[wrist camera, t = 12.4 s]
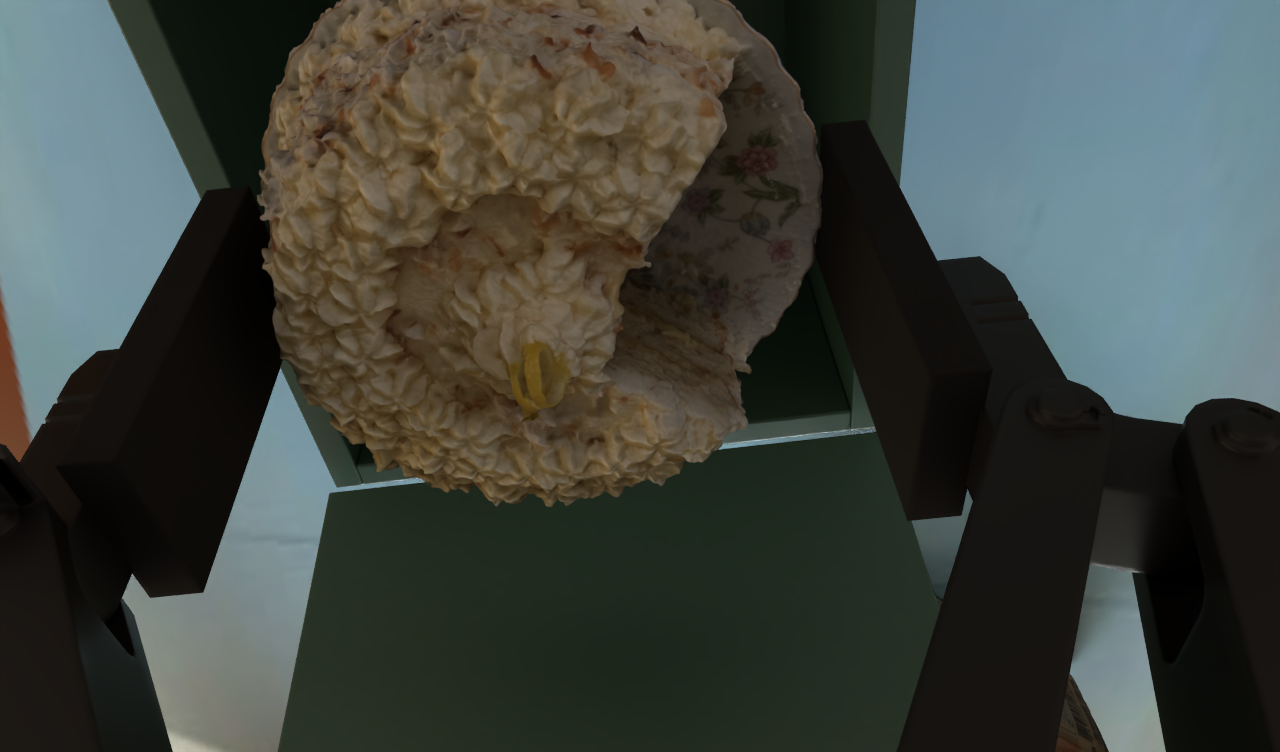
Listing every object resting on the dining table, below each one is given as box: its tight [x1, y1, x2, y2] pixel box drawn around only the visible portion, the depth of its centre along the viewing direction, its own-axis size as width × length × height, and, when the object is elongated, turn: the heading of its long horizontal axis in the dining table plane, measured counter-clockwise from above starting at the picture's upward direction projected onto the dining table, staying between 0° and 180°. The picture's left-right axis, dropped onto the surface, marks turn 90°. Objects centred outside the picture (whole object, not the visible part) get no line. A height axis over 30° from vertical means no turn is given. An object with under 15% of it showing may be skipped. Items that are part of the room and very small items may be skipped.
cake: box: [257, 0, 823, 507], centre depth 15 cm, size 10×10×5 cm
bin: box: [107, 0, 916, 488], centre depth 26 cm, size 17×16×12 cm
